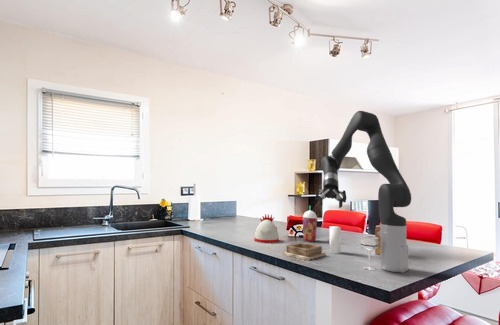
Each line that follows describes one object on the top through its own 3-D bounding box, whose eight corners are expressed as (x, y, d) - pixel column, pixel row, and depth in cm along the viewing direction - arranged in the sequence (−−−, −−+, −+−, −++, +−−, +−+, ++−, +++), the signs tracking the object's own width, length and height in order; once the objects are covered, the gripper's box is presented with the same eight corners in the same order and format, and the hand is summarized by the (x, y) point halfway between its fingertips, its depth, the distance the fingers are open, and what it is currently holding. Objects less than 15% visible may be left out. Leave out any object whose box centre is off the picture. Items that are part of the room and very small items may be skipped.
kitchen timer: (277, 243, 167) (278, 215, 168) (252, 242, 169) (253, 214, 170) (279, 239, 181) (279, 213, 182) (256, 238, 183) (256, 212, 184)
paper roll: (342, 252, 149) (342, 227, 150) (337, 254, 145) (337, 228, 146) (332, 250, 152) (332, 226, 153) (327, 252, 149) (327, 227, 149)
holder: (325, 255, 142) (325, 246, 142) (309, 260, 132) (309, 250, 132) (299, 250, 152) (299, 241, 152) (282, 254, 141) (282, 245, 142)
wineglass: (381, 268, 122) (381, 237, 122) (375, 272, 117) (375, 239, 117) (364, 265, 126) (364, 235, 127) (357, 268, 121) (357, 237, 122)
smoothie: (319, 240, 178) (319, 205, 180) (314, 243, 171) (314, 206, 172) (305, 239, 182) (305, 204, 184) (300, 241, 175) (300, 205, 177)
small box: (374, 254, 147) (374, 226, 148) (376, 251, 152) (376, 225, 153) (393, 256, 143) (393, 228, 144) (394, 254, 148) (394, 226, 149)
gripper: (317, 176, 157) (315, 198, 145) (346, 178, 154) (347, 201, 142) (315, 187, 162) (314, 209, 149) (344, 190, 159) (345, 213, 146)
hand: (330, 205), depth 146 cm, fingers open, 8 cm apart
